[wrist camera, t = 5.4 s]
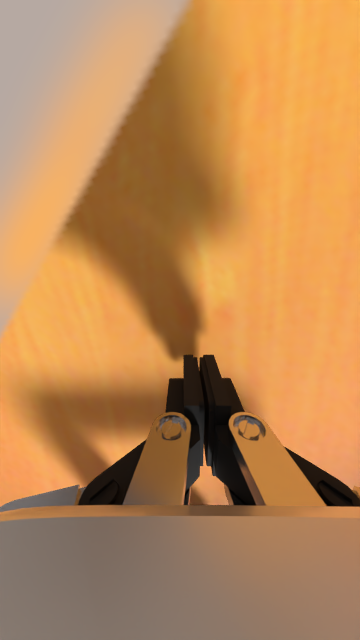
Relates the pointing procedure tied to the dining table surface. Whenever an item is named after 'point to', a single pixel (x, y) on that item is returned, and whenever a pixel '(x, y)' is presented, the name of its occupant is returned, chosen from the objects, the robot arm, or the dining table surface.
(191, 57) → the dining table surface
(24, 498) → the robot arm
